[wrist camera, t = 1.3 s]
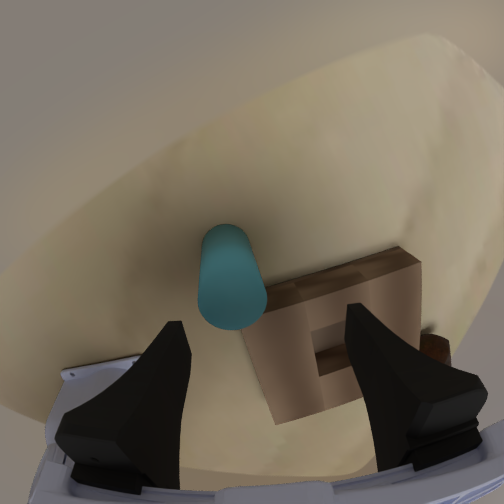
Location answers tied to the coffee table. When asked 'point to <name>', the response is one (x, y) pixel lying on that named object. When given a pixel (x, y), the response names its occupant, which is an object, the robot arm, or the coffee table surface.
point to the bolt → (435, 348)
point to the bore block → (328, 330)
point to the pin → (229, 280)
